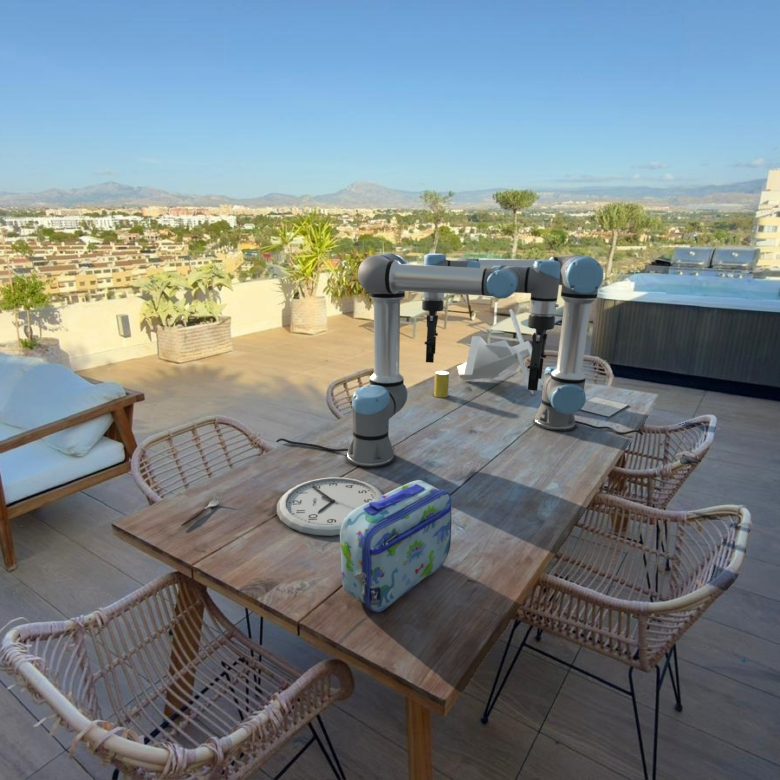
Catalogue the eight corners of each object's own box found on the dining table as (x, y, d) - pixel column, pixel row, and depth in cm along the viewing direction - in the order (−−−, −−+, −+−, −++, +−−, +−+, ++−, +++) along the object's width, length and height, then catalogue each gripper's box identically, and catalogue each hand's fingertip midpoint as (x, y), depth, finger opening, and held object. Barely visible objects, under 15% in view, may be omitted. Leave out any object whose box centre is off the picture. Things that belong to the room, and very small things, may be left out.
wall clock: (392, 527, 129) (268, 531, 127) (391, 533, 130) (269, 537, 127) (383, 473, 158) (282, 475, 155) (383, 478, 158) (282, 480, 156)
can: (442, 392, 242) (443, 370, 239) (450, 396, 237) (451, 373, 234) (431, 394, 239) (432, 372, 236) (439, 398, 234) (440, 375, 231)
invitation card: (608, 416, 214) (573, 407, 224) (608, 416, 214) (573, 408, 224) (628, 404, 229) (594, 396, 238) (628, 405, 229) (594, 397, 238)
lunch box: (369, 626, 100) (370, 530, 93) (334, 598, 107) (332, 507, 101) (455, 567, 117) (460, 483, 111) (419, 547, 124) (423, 467, 118)
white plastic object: (478, 423, 260) (457, 400, 235) (460, 349, 282) (438, 321, 257) (551, 399, 247) (536, 372, 223) (525, 323, 270) (510, 291, 245)
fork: (176, 526, 131) (176, 519, 130) (217, 497, 145) (217, 491, 145) (185, 528, 130) (184, 521, 130) (225, 499, 145) (224, 492, 144)
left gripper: (552, 322, 141) (543, 397, 147) (558, 309, 163) (550, 375, 169) (524, 320, 143) (516, 393, 150) (533, 308, 166) (526, 372, 172)
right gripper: (424, 294, 196) (422, 349, 203) (419, 303, 173) (417, 365, 179) (444, 295, 195) (442, 350, 202) (442, 304, 172) (439, 366, 178)
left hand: (534, 384), depth 159 cm, fingers open, 13 cm apart
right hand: (430, 357), depth 190 cm, fingers open, 13 cm apart
